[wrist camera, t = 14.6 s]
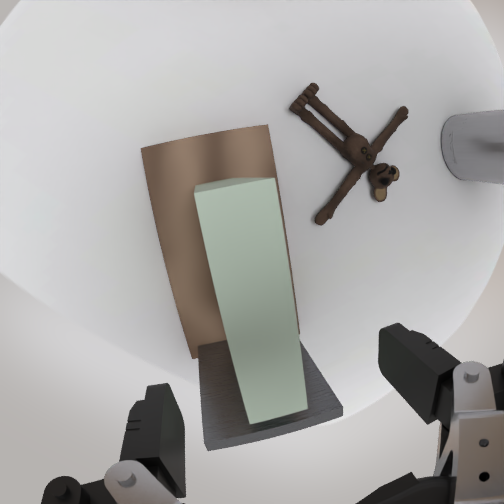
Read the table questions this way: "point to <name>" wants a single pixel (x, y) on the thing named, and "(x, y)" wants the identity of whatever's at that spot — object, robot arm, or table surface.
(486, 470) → the robot arm
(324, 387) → the grey metal bookend
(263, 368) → the sage book
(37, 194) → the table surface
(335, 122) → the wooden monkey figure
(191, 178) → the walnut shelf board
